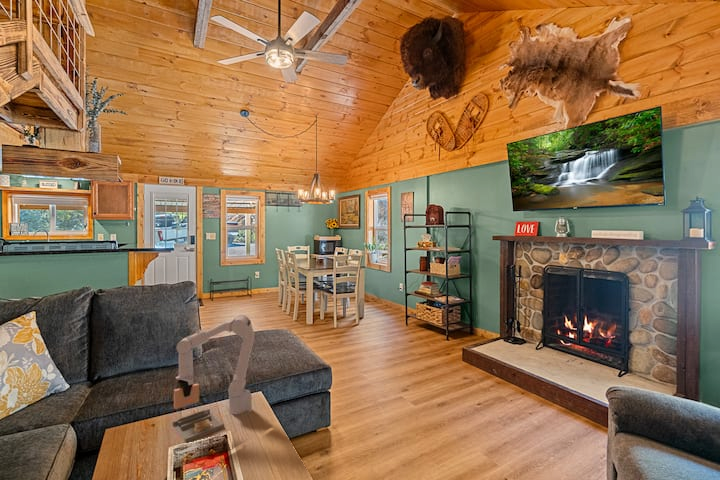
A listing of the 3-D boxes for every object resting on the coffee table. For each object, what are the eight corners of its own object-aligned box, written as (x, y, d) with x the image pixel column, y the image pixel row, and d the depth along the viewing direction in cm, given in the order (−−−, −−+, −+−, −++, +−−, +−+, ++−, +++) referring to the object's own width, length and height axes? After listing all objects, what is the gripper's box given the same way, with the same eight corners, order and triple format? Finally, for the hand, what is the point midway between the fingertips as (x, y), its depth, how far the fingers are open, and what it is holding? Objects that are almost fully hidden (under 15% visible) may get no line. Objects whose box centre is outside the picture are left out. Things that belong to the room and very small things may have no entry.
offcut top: (208, 422, 142) (208, 419, 142) (210, 426, 139) (210, 422, 139) (194, 427, 139) (194, 423, 139) (196, 431, 136) (196, 427, 136)
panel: (197, 400, 156) (197, 383, 156) (199, 401, 155) (199, 384, 154) (173, 407, 149) (173, 389, 149) (175, 409, 148) (175, 391, 148)
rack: (209, 413, 153) (209, 408, 153) (224, 429, 141) (224, 423, 141) (172, 427, 143) (172, 421, 143) (185, 445, 131) (185, 439, 131)
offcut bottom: (207, 425, 143) (207, 421, 143) (212, 428, 140) (212, 425, 140) (193, 431, 138) (193, 428, 138) (198, 435, 136) (198, 431, 136)
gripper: (171, 363, 154) (171, 392, 154) (181, 372, 143) (181, 404, 144) (187, 359, 159) (188, 387, 159) (198, 368, 148) (198, 398, 149)
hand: (186, 395), depth 152 cm, fingers closed on panel, 2 cm apart
